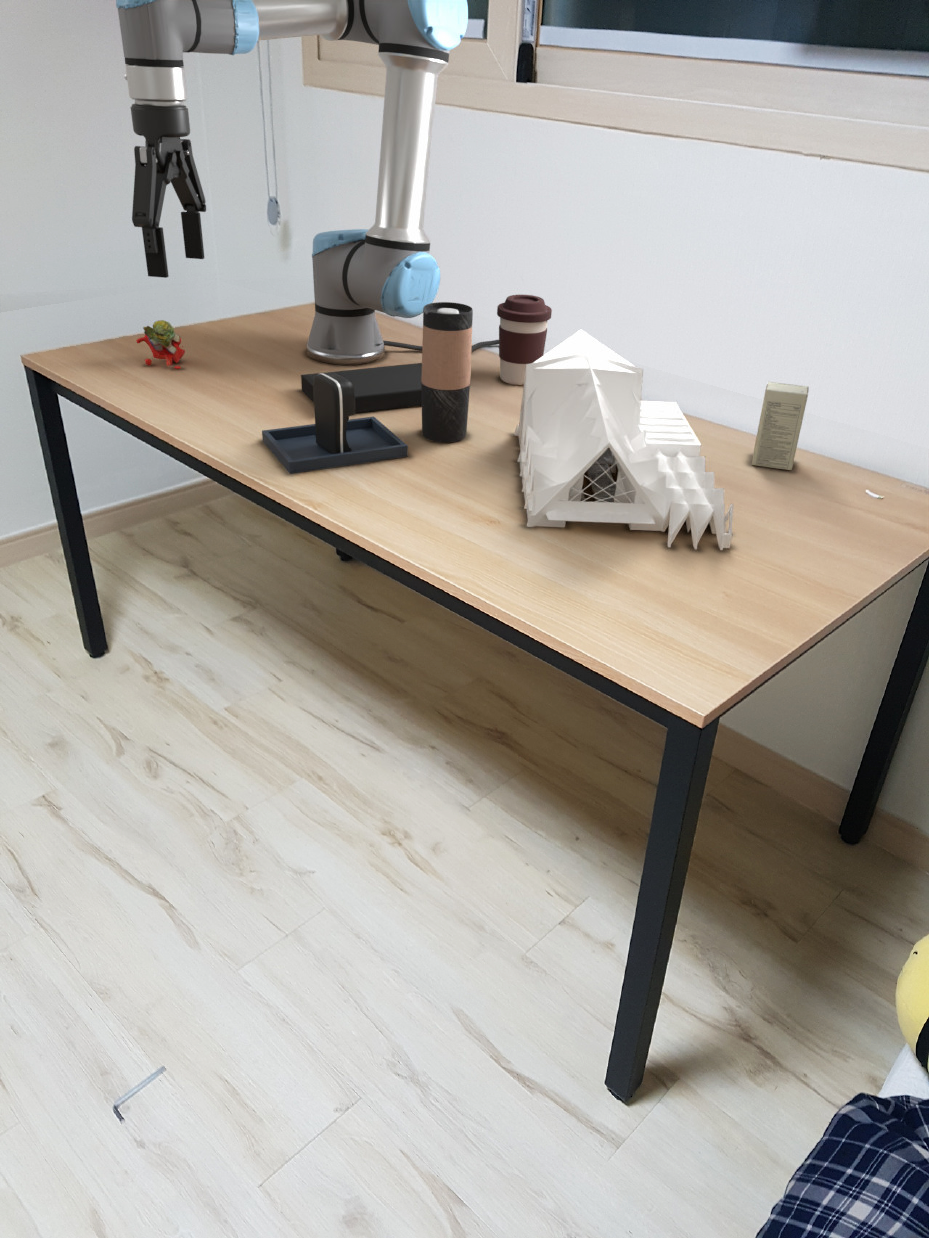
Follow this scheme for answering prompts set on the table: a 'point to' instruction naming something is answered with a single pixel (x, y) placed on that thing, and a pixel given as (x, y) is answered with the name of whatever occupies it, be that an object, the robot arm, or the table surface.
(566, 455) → the white faceted model
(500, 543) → the table surface
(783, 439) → the cosmetic box
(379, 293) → the robot arm
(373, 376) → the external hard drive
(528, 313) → the coffee cup
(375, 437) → the tray
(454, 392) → the travel mug
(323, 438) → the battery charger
